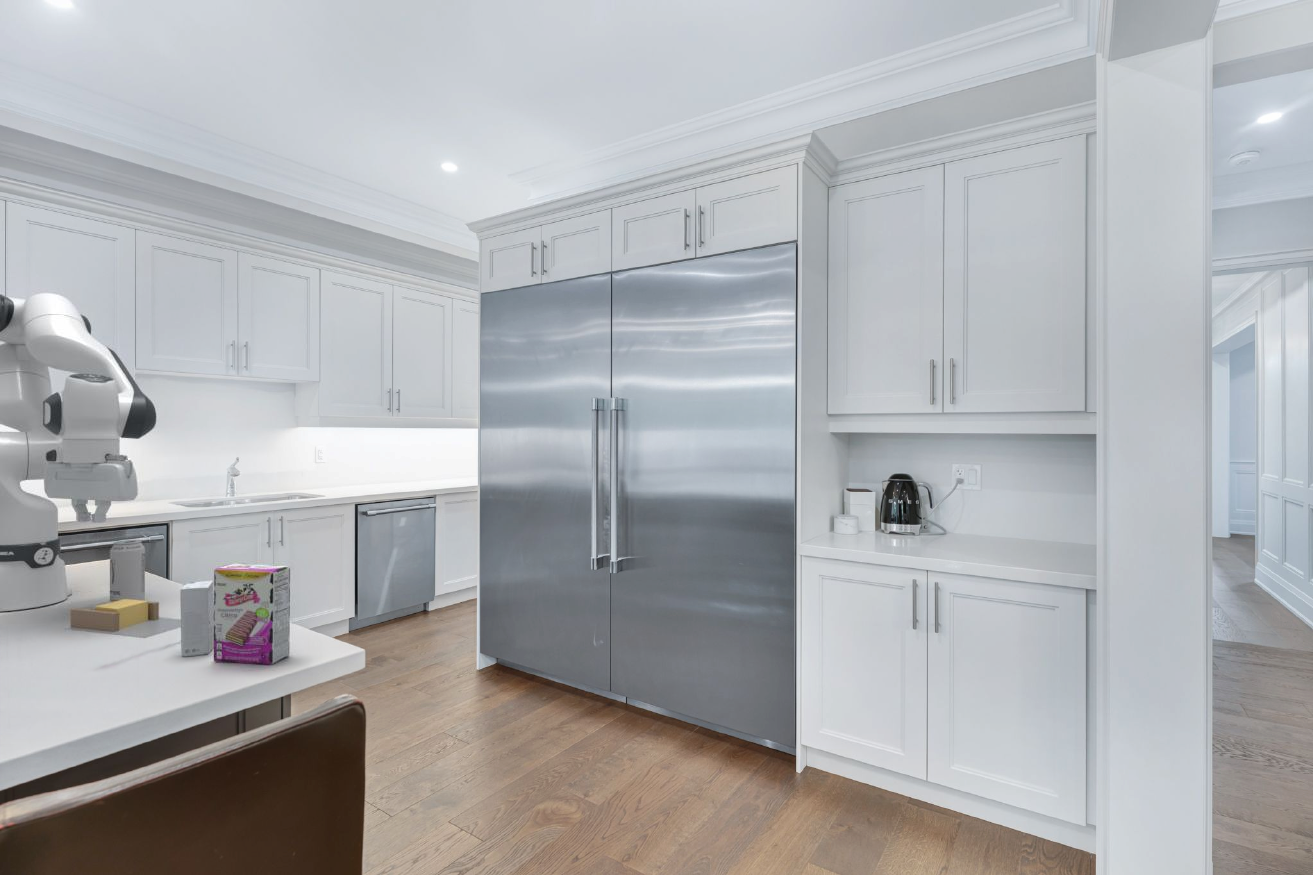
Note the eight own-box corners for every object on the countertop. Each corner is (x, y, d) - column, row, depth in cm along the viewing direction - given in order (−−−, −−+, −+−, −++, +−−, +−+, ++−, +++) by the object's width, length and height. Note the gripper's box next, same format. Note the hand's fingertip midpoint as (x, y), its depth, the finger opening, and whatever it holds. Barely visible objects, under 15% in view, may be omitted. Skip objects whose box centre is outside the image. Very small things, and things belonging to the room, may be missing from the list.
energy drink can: (107, 609, 144) (107, 541, 144) (141, 604, 149) (141, 538, 148) (112, 614, 140) (113, 545, 140) (147, 608, 145) (147, 541, 144)
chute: (64, 633, 127) (64, 610, 127) (122, 618, 138) (122, 596, 137) (144, 643, 122) (144, 619, 122) (198, 626, 133) (198, 604, 133)
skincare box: (209, 654, 117) (210, 586, 117) (179, 657, 115) (179, 589, 115) (215, 643, 122) (215, 579, 122) (186, 647, 120) (187, 581, 120)
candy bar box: (211, 662, 113) (211, 568, 112) (233, 653, 118) (233, 562, 117) (272, 666, 111) (272, 570, 111) (291, 656, 116) (291, 564, 116)
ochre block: (93, 626, 128) (94, 606, 128) (125, 618, 134) (125, 598, 134) (117, 629, 127) (117, 608, 127) (148, 620, 133) (148, 601, 133)
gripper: (147, 454, 133) (146, 522, 133) (71, 452, 137) (70, 517, 138) (114, 455, 127) (114, 526, 127) (36, 453, 131) (36, 521, 132)
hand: (91, 521), depth 132 cm, fingers open, 3 cm apart
